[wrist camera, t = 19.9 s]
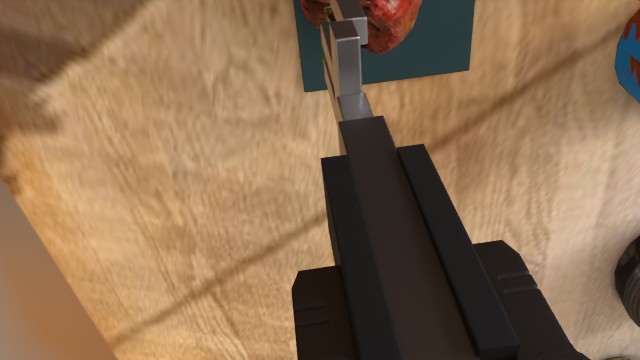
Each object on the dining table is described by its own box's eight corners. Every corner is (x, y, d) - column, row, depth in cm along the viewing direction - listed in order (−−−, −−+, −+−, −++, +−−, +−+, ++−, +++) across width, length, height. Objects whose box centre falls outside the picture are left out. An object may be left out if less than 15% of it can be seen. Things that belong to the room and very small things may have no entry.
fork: (308, -16, 21) (483, 580, 6) (348, -22, 21) (631, 556, 6) (321, 110, 24) (449, 683, 9) (355, 106, 25) (539, 668, 9)
